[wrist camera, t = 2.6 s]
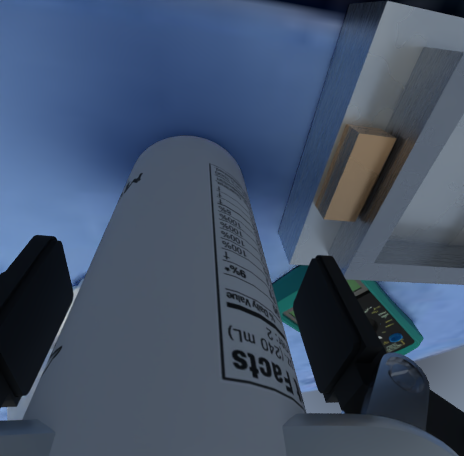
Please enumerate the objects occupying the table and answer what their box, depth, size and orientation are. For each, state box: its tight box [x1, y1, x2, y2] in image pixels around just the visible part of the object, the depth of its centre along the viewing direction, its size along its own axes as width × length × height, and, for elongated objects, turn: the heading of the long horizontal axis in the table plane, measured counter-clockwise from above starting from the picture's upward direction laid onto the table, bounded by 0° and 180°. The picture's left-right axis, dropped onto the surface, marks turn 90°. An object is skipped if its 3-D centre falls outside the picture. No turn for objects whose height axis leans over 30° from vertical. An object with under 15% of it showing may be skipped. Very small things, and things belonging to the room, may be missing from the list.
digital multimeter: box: [272, 265, 423, 355], centre depth 24 cm, size 7×15×3 cm, turn 41°
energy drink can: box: [22, 136, 306, 456], centre depth 10 cm, size 6×6×15 cm
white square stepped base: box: [278, 1, 464, 285], centre depth 14 cm, size 12×14×5 cm
